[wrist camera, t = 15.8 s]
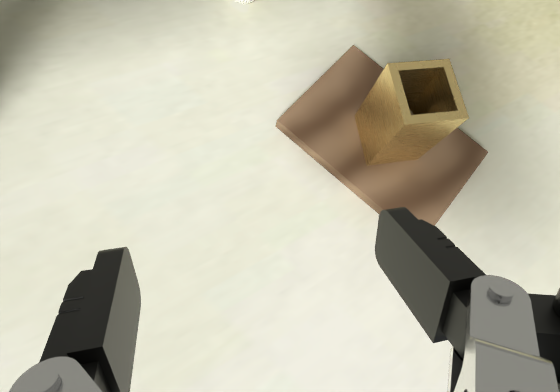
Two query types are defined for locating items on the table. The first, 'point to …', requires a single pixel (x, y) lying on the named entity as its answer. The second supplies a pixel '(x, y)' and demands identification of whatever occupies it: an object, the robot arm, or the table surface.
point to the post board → (349, 154)
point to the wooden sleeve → (396, 115)
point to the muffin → (244, 1)
